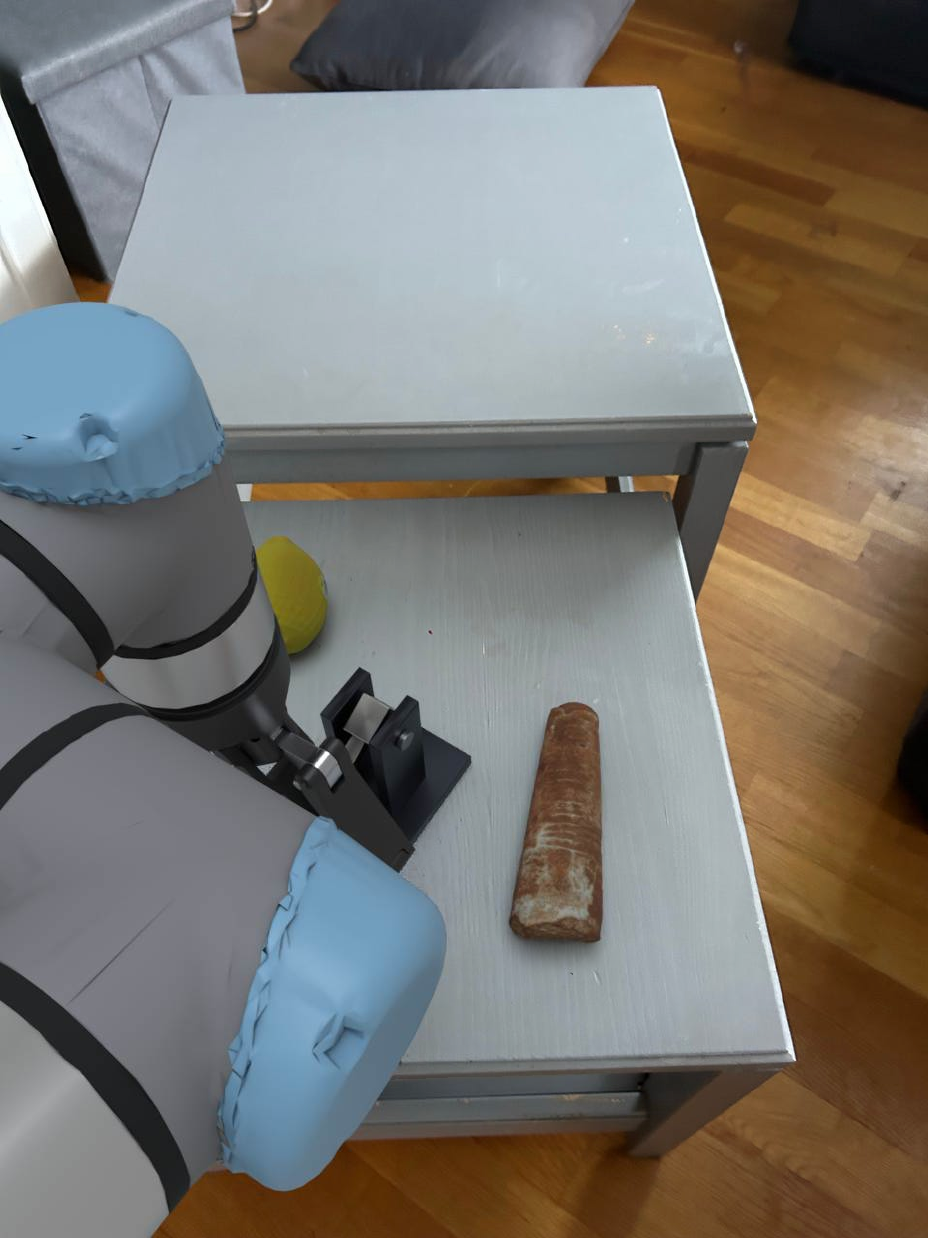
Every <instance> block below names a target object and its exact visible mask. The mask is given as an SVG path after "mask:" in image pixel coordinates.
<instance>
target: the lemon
mask: <svg viewBox="0 0 928 1238" xmlns="http://www.w3.org/2000/svg"><path fill="white" fill-rule="evenodd" d="M255 553H256V557H257V562H258V565H259V568H260V571H261V574H262V577H263V580H264V583H265V586H266V589H267V592H268V595H269V598H270V601H271V604H272V607H273V610H274V613H275V615H276V617H277V620H278V623H279V626H280V629H281V633H282V636H283V639H284V642H285V645H286V649H287V652H288V655H290V654H295V653H299V652H301V651H303V650H305V648H307V647H308V646H309V645H310V644H311V643H312V642H313V641H314V639H316V637H317V636H318V635H319V633H320V631H321V630H322V628H323V626H324V625H325V621H326V617H327V613H328V605H329V596H328V595H329V594H328V593H329V592H328V586H327V582H326V578H325V576H324V573H323V572H322V570H321V568H320V567H319V565H318V563H316V561H315V560H314V559H313V558H312V557H311V555H309V554H308V553H307V552H306V551H305V550H304V549H303V548H301V547H299V546H298V545H297V544H296V543H294V542H293V541H292V540H291V539H290V538H288V537H287V536H285V535H273V536H271V537H269V538H267V540H266V541H264V542H263V543H262V544H261V545H259V546H258V547H257V548H256V549H255Z"/></svg>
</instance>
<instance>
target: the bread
mask: <svg viewBox="0 0 928 1238" xmlns="http://www.w3.org/2000/svg"><path fill="white" fill-rule="evenodd" d="M600 744H601V743H600V718H599V715H598V713H597V712H596V711H595V710H594V709H593V708H592V707H591V706H590V705H588V704H586V703H582V702H579V701H568V702H565V703H563V704H560V705H558V706H556V707H552V708H551V709H550V710H549V713H548V716H547V720H546V724H545V730H544V734H543V742H542V746H541V750H540V755H539V761H538V766H537V770H536V774H535V780H534V785H533V790H532V796H531V800H530V805H529V811H528V816H527V821H526V827H525V833H524V838H523V845H522V851H521V854H520V858H519V861H518V868H517V873H516V878H515V884H514V890H513V894H512V902H511V908H510V915H509V917H508V926H509V928H510V929H511V931H512V933H514V934H515V935H516V936H518V937H520V938H522V939H525V940H531V939H533V940H535V941H536V940H545V939H547V940H549V941H552V940H558V941H569V942H574V943H575V942H581V943H585V944H593V943H596V942H600V941H601V938H602V936H601V935H602V934H601V933H602V924H603V920H604V919H603V917H604V905H603V904H604V901H603V900H604V897H603V893H604V890H603V854H602V839H603V823H602V822H603V821H602V819H603V818H602V816H603V814H602V810H603V809H602V808H603V805H602V804H603V803H602V802H603V800H602V797H603V796H602V769H601V746H600Z"/></svg>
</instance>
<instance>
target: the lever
mask: <svg viewBox="0 0 928 1238" xmlns="http://www.w3.org/2000/svg"><path fill="white" fill-rule="evenodd" d="M395 709H396V708H394V707H392V706H391V705H389V704H387V703H386V702H384V701H382V700H381V699H378V698H377V697H373V696H371V695H368V694H366V693H363V694H362V696H361V698H360V700H359V701H358V703H357V705H356V707H355V708H354V710H353V712H352V714H351V715H350V717H349V719H348V720H347V722H346V724H345V726H344V727H343V729H344V730H346V731H347V732H349V733H351V734H352V736H351V738H350V739H349V741H348V743H347V745H346V746H345V747H346V748H347V750H348V752H349V755H350V757H351V760H352V762H353V765H354V767H355V769H356V767H357V765H358V764H359V762H360V760H361V758H362V757H363V755H364V753H365V751H366V750H367V748H368V746H369V742H370V741H371V740H372V738H373V737H374V736H375V735H376V733H377V732H378V731H379V730H380V728H381V727H382V726H383V724H384V723H385V722H386V721H387V719H388V718H389V717H390V716H391V714H392V713H393V712H394V711H395Z"/></svg>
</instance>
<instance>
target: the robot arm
mask: <svg viewBox="0 0 928 1238" xmlns="http://www.w3.org/2000/svg"><path fill="white" fill-rule="evenodd" d="M226 440H227V439H226V433H225V430H224V428H223V426H222V424H221V423H220V420H219V418H218V417H217V416H216V414H215V411H214V409H213V406H212V403H211V401H210V397H209V395H208V393H207V389H206V387H205V384H204V382H203V379H202V378H201V376H200V375H199V373H198V371H197V369H196V366H195V364H194V362H193V359H192V358H191V355H190V354H189V352H188V350H187V348H186V347H185V345H184V344H183V342H182V341H181V340H180V339H179V338H178V336H177V335H176V334H174V332H173V331H172V330H171V329H169V328H168V327H167V326H165V325H163V324H162V323H161V322H159V321H158V320H155V318H153V317H152V316H149V315H144V314H142V313H140V312H138V311H135V310H133V309H131V308H129V307H127V306H123V305H119V304H114V303H107V302H99V301H98V302H96V301H93V302H92V301H78V302H77V301H76V302H66V303H58V304H53V305H48V306H43V307H40V308H36V309H32V310H30V311H26V312H24V313H21V314H19V315H16V316H13V317H10V319H8V320H5V321H3V322H1V323H0V1238H152V1236H153V1235H154V1234H155V1233H156V1232H157V1230H158V1229H159V1228H160V1226H161V1225H162V1224H163V1222H164V1221H165V1220H166V1218H167V1217H168V1216H170V1215H171V1214H172V1212H173V1211H174V1210H175V1208H177V1206H178V1205H179V1203H180V1202H181V1201H182V1199H183V1198H184V1197H185V1196H186V1194H187V1193H188V1192H189V1191H190V1189H191V1188H192V1187H193V1186H194V1185H195V1184H196V1182H198V1180H200V1179H201V1178H202V1176H203V1175H204V1174H205V1173H206V1172H207V1171H208V1170H209V1169H210V1168H211V1167H212V1166H213V1165H214V1164H215V1163H216V1162H218V1163H220V1164H221V1165H223V1166H224V1167H225V1168H226V1169H227V1170H229V1171H230V1172H231V1173H232V1174H238V1173H240V1174H241V1173H242V1174H246V1175H248V1176H249V1177H251V1178H252V1179H253V1180H256V1181H257V1182H258V1183H260V1185H262V1186H263V1187H265V1188H268V1189H270V1190H273V1191H279V1192H289V1191H293V1190H296V1189H299V1188H301V1187H303V1186H305V1185H306V1184H307V1183H309V1182H310V1181H312V1180H314V1179H315V1178H316V1177H318V1176H319V1175H320V1174H321V1173H322V1172H323V1170H324V1169H325V1168H326V1167H327V1166H328V1165H329V1164H330V1163H331V1162H332V1161H333V1159H334V1157H335V1156H336V1155H337V1152H338V1151H339V1149H340V1148H341V1146H342V1145H343V1144H344V1142H345V1141H346V1140H348V1139H350V1138H351V1137H352V1136H353V1135H354V1133H355V1132H356V1131H357V1130H358V1128H359V1127H360V1126H361V1124H362V1123H363V1122H364V1121H365V1119H366V1117H367V1116H368V1114H369V1112H371V1110H372V1109H373V1106H374V1105H375V1104H376V1103H377V1100H378V1098H379V1097H380V1095H381V1094H382V1092H383V1091H384V1090H385V1088H386V1086H387V1085H388V1083H389V1082H390V1080H391V1079H392V1078H393V1075H394V1074H395V1072H396V1070H397V1068H398V1066H399V1065H400V1063H401V1062H402V1059H403V1058H404V1056H405V1054H406V1052H407V1050H408V1048H409V1047H410V1045H411V1043H412V1041H413V1039H414V1037H415V1036H416V1034H417V1032H418V1030H419V1028H420V1025H421V1024H422V1022H423V1020H424V1018H425V1015H426V1013H427V1011H428V1009H429V1007H430V1005H431V1003H432V1000H433V998H434V996H435V993H436V991H437V988H438V985H439V983H440V980H441V977H442V973H443V969H444V965H445V960H446V954H447V947H448V934H447V927H446V923H445V920H444V917H443V915H442V912H441V911H440V909H439V907H438V905H437V904H436V903H435V902H434V901H433V900H432V898H430V896H429V895H428V894H427V893H425V892H424V891H423V890H422V889H420V888H419V887H418V886H416V885H415V884H414V883H413V882H411V881H409V880H408V879H407V878H406V877H404V876H403V875H401V874H400V873H401V871H402V870H403V869H404V867H405V866H406V864H407V863H408V861H409V860H410V859H411V858H412V856H413V854H414V853H415V852H416V848H415V847H414V844H413V845H412V844H411V842H410V841H409V840H408V839H407V837H406V836H405V835H404V833H403V832H402V830H401V829H400V828H399V826H398V825H397V824H396V822H395V821H394V820H393V818H392V817H391V816H390V814H389V813H388V812H387V810H386V809H385V808H384V806H383V805H382V804H381V802H380V801H379V799H378V798H377V797H376V795H375V794H374V793H373V791H372V790H371V789H370V787H369V786H368V785H367V783H366V782H365V781H364V779H363V778H362V777H361V775H360V774H359V773H358V771H357V770H356V769H355V767H354V765H353V762H352V760H351V757H350V755H349V752H348V750H347V748H346V747H345V746H344V744H343V742H342V741H341V740H339V739H337V738H335V737H334V736H327V737H326V736H325V738H324V739H323V741H322V742H321V743H320V745H319V746H317V745H316V743H315V741H313V739H312V738H311V737H310V736H309V735H308V734H307V733H306V732H305V730H303V728H301V727H300V726H299V724H298V723H297V722H296V721H295V720H294V719H293V718H292V716H290V714H289V712H288V706H287V705H286V703H287V698H288V693H289V690H290V689H289V688H290V682H291V673H292V671H291V670H292V669H291V660H290V654H288V652H287V649H286V645H285V642H284V639H283V636H282V633H281V629H280V626H279V623H278V620H277V617H276V615H275V613H274V610H273V607H272V604H271V601H270V598H269V595H268V592H267V589H266V586H265V583H264V580H263V577H262V574H261V571H260V568H259V565H258V562H257V557H256V553H255V550H256V549H255V546H254V543H253V539H252V535H251V532H250V528H249V525H248V522H247V517H246V514H245V510H244V507H243V504H242V500H241V496H240V493H239V489H238V486H237V482H236V479H235V475H234V472H233V468H232V465H231V464H232V463H231V461H230V458H229V454H228V450H227V442H226ZM99 671H101V673H102V675H103V676H104V677H105V683H104V682H102V681H101V680H99V679H98V678H96V677H95V676H96V675H97V674H98V672H99ZM271 764H274V765H273V766H272V767H271V768H270V769H269V770H268V772H267V773H266V774H265V773H264V772H263V771H262V770H261V769H260V768H259V767H262V766H266V765H271Z"/></svg>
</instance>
